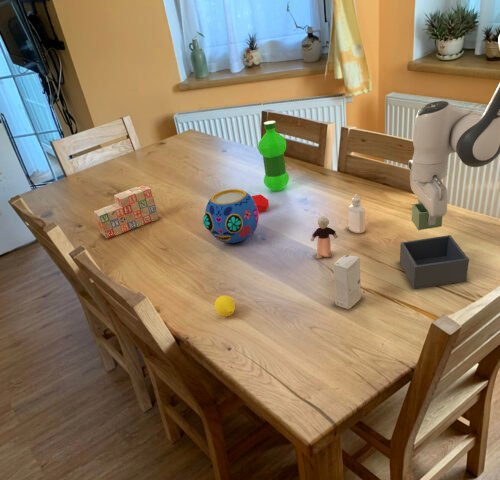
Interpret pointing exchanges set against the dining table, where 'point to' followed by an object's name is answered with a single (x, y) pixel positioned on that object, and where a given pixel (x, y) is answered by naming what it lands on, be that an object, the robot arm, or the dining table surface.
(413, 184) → the robot arm
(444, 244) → the big bin
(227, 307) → the lemon
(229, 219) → the ceramic pot
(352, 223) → the eye dropper bottle
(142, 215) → the stack of blocks
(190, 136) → the dining table surface
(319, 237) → the grandmother figurine
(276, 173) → the plastic bottle
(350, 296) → the cosmetic box
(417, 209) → the small bin
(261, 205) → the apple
